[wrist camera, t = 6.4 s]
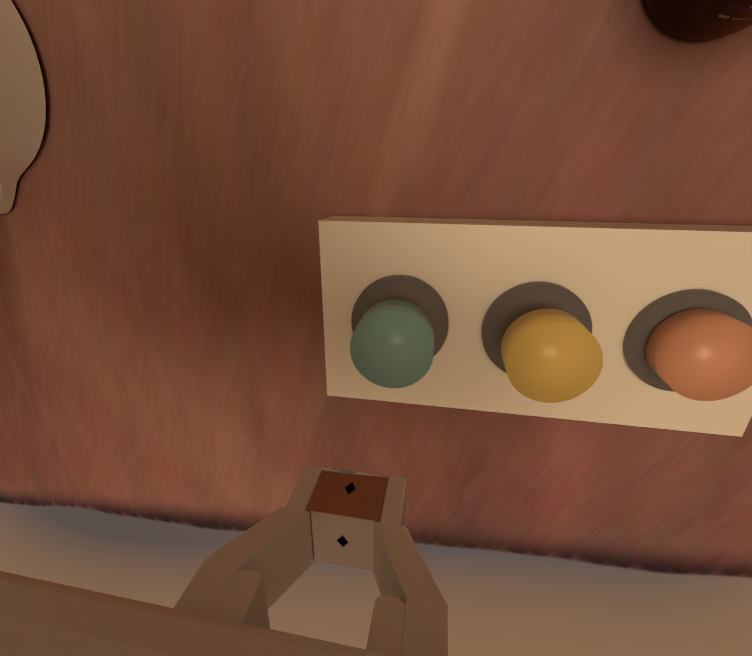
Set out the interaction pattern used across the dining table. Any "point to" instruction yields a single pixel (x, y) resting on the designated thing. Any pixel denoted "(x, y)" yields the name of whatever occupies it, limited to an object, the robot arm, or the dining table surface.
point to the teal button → (393, 344)
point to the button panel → (536, 306)
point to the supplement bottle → (701, 17)
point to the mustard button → (550, 356)
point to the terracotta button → (702, 354)
